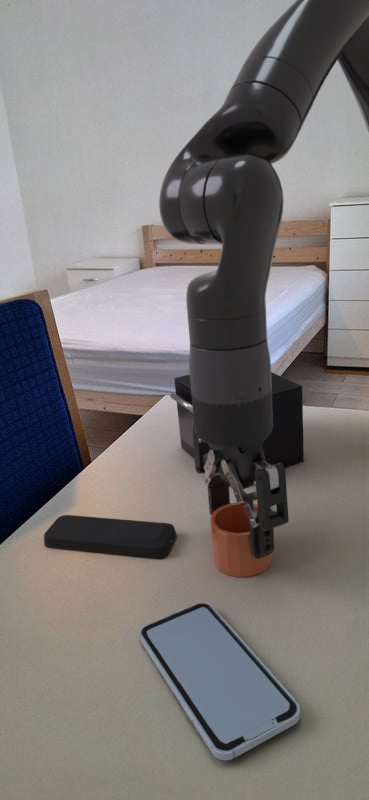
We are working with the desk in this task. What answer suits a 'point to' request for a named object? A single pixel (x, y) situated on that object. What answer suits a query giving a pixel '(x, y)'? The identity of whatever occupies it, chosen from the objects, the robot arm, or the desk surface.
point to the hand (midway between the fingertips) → (240, 533)
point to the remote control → (111, 536)
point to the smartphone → (218, 680)
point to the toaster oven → (286, 421)
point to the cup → (235, 542)
